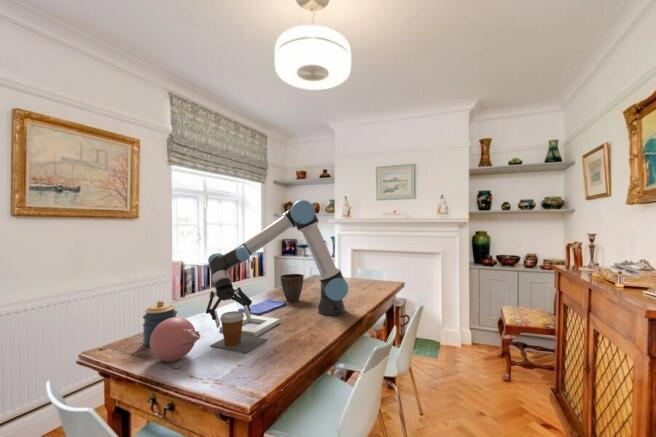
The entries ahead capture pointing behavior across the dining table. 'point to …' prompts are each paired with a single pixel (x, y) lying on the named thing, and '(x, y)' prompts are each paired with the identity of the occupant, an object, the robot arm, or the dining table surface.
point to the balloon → (173, 339)
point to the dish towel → (264, 307)
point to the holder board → (264, 325)
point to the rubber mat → (241, 344)
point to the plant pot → (292, 286)
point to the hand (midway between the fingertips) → (234, 322)
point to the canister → (156, 318)
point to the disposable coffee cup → (232, 327)
